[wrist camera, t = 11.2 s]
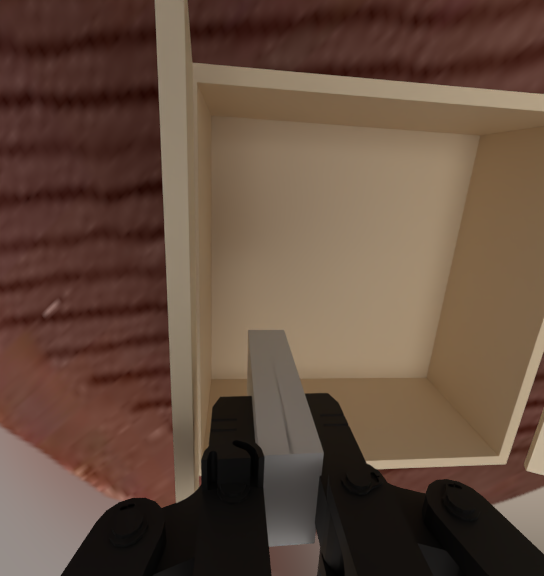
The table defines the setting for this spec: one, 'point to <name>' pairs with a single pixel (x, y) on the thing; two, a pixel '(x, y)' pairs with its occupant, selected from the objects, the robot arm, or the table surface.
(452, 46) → the table surface
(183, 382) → the flap
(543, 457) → the flap
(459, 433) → the carton
